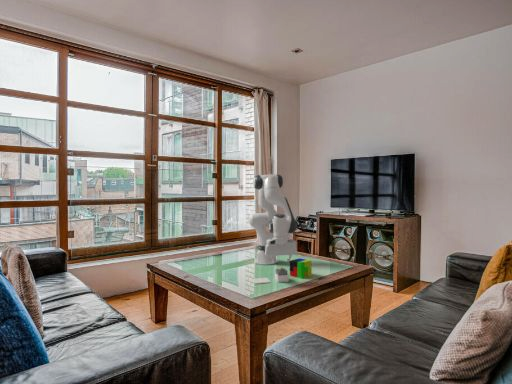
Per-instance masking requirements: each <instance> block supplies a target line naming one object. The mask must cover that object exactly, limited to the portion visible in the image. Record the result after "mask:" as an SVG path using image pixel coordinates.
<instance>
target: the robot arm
mask: <svg viewBox="0 0 512 384" xmlns="http://www.w3.org/2000/svg"><path fill="white" fill-rule="evenodd" d="M252 185H253V187H254V189H256V190H258V195H257V197H258V201H257V203H258V207H259V208H260V209H262V210H264V211H265V212H256V213H252V214H250V215H249V216H248V224H249V225H250V227H252V228H253V229H254V230H255V231H256V233H257V237H258V245H257V247H258V248H257V252H256V253H255V254H254V257H255V258H254V264H256V265H268V266H269V265H274V264H276V263H279V260H278V259H277V257H279V256H288V257H287V258H286V262H287V263H290V261H291V260H292V257H293V256H292V255H297V253H298V249H297V246H298V244H297V240H295V239H288V237H289V236H288V234H294V233H295V232H296V231H297V229H298V224H297V220H296V218H295V216H294V214H293V212H292V209H291V206H290V203H289V201H288V198H287V197H286V196H285V195H283V194H282V192H281V188H282V187H283V185H284V178H283V176H282V175H281V174H270V173H269V174H261V175H260V174H258V175H255V176H254V178H253V180H252ZM274 206H278V207H280V208H281V209H282V210H283V211H284V214H282V213H279V212H278V211H276V209H275V207H274ZM267 227H268V230H267V229H266V228H267Z"/></svg>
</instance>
